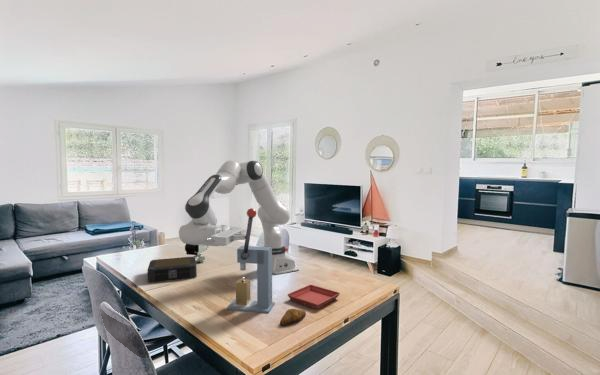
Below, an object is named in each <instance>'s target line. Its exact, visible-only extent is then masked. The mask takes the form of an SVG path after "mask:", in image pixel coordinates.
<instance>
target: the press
mask: <svg viewBox="0 0 600 375" xmlns="http://www.w3.org/2000/svg"><path fill="white" fill-rule="evenodd" d="M243 251H244V245H241V246H240V247H238V248H236V261H237V264H239V265H240V266H239V267H240V268H239V269H240V271H243V272H244V271H246V269H247V267H246V266H247V264H252V265H253V264H255V265H256V267H257V268H256V271H257V272H256V278H257V279H256V285H257V286H256V287H257V289H256V290H257V291H256V292H257V294H256V295H257V298H256V300H253V299H250V302H249V303H248V305H247V306H246V305H236V298H234V299H233V300H232V301H231V302H230V303H229V304H228V305H227V307H225V308H226V310H228V311H238V312H240V311H242V312H250V313H251V312H252V313H263V314H269V313H270V312H271V310H272V309H273V307H275V301H273V273H272V247H264V246H254V245H249V247H248V253H249V257H248V258H247V259H246V260H243V259H242V258H241V254H242V253H243Z"/></svg>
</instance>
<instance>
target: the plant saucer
mask: <svg viewBox="0 0 600 375" xmlns="http://www.w3.org/2000/svg"><path fill="white" fill-rule="evenodd" d="M340 295H341V293H340V292H339V291H335V290H331V289H327V288H325V287H320V286H316V285H313V284H309V285H306V286H303V287H302V288H299V289H296V290H294V291H293V292H290V293H288V294H287V297H288V298H289V299H290V300H291V301H293V302H294V303H295V302H296V303H298V304H300V305H304V306H307V307H311V308H312V309H316V310H317V309H319V308H321V307H323V306H325V305H327V304H329V303H330V302H333V301H335V300H336V299H337V298H338V297H339V296H340ZM334 299H335V300H334Z"/></svg>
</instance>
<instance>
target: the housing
mask: <svg viewBox="0 0 600 375" xmlns="http://www.w3.org/2000/svg"><path fill="white" fill-rule="evenodd" d="M235 299H236V305H246V306H247V305H248V303H249V302H250V300H251V279H250V278H248V279H247V278H245V277H244V276H241V278H238V280H237V281H235Z"/></svg>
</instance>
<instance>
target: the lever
mask: <svg viewBox="0 0 600 375" xmlns="http://www.w3.org/2000/svg"><path fill="white" fill-rule="evenodd" d="M246 216H247V217H248V220H247V227H246V232H245V234H246V238H245V239H244V245H243V246H244V251H243V253H242V254H241V258H242V259H243V260H246V259H247V258H248V257H249V253H248V247H249V246H250V240H251V232H252V226H253V220H254V218H255V217H256V216H257V211H256V209H254V208H253V207H252V208H249V209H247V211H246Z"/></svg>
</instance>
